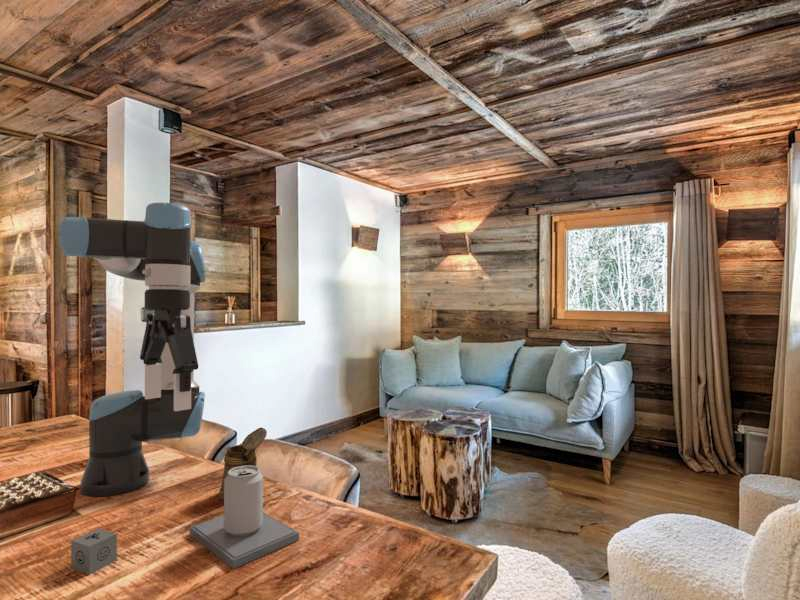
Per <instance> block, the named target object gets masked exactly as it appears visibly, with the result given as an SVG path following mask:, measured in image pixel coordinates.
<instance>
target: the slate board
mask: <svg viewBox="0 0 800 600" xmlns="http://www.w3.org/2000/svg"><path fill="white" fill-rule="evenodd" d="M189 535H190V536H192V538H194V539H195V540H196V541H197V542H199V543H200V544H201V545H202V546H204V547H205V548H206V549H207V550H209V551H210V552H211V553H212V554H214V555H215V556H216V557H217V558H219V559H220V560H222V561H223V562H224V563H225V564H226V565H228V566H229V567H231V569H233V570H235V569H237V568H239V567H241V566H243V565H246V564H248V563H251V562H253V561H255V560H257V559H259V558H262V557H265V556H267V555H268V554H270V553H273V552H276V551H278V550H280V549H282V548H284V547H287V546H289V545H291V544H293V543H295V542H298V541H300V532H299V531H297V530H295V529H293V528H292V527H290V526H289V525H286V524H285V523H283V522H282V521H280V520H279V519H276V518H275V517H273V516H271V515H269V513H266V512H264V511H263V524H262V525H261V527H259V528H258V530H257V531H255V532H254V533H252V534H249V535H246V536H233V535H230V534H229V533H228V532H226V531H225V529H224V514H223V515H220V516H217V517H214V518H212V519H209V520H206V521H202V522H200V523H197V524H194V525H192V526H189Z"/></svg>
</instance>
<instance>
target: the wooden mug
mask: <svg viewBox="0 0 800 600" xmlns="http://www.w3.org/2000/svg"><path fill="white" fill-rule="evenodd" d="M267 433H268V432H267V429H266V428H264V427H259V428H256V429H255V430H253V431H252V432H250V433H249V434H248V435H247V436H246V437H244V440H243V441H242V444H239V445H237V444H236V445H233V446H229V447H227V449H226V454H224V459H223V461H224V467H223V473H222V480H221V486H220V488H219V493H218V497H219V498H220V499H221V500H223V501H224V479H225V478H226V477H227V476H228V471H229V470H230V469H232V468H235V467H238V466H245V465H251V466H256V467H257V464H258V463H257V462H258V461H257V460H258V459H257V454H256V450H257V448H258V447H259V446H260V445H262V444H263V442H264V441H265V439H266V437H267Z"/></svg>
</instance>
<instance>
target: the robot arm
mask: <svg viewBox="0 0 800 600" xmlns="http://www.w3.org/2000/svg"><path fill="white" fill-rule="evenodd" d="M191 227H192V220H191V211H190V209H189V207H187V206H185V205H183V204H178V203H172V202H151V203H149V204H147V206H146V208H145V218H144V220H143V221H142V220H141V221H140V220H127V219H125V220H124V219H123V220H122V219H112V218H111V219H110V218H109V219H108V218H98V217H96V218H95V217H86V216H67V217H64V218H62V220H60V224H59V230H58V236H59V237H58V240H59V247H60V250H61V252H62V253H63V255H65V256H68V257H78V258H81V259H82V258H92V259H94V260H95V261H97V262H98V263H99V264H100V266H101V267H102V268H103V269H104V270H105V271H107V272H108V273H111V274H113V275H116V276H118V277H123V278H125V279H129V280H135V281H141V282H142V281H144V285H145V286H146V287H148V289H145V291H144V309H146V310H147V311H154V313H147V314H146V322H145V323H146V324H145V329H144V334H143V339H142V340H143V341H142V345H141V346H142V347H141V349H140V354H139V359H140V360H141V361H143V365H144V393H143V391H142V390H139V389H137V390H125V391H119V392H115V393H109V394H106V395H103V396H101V397H98V398H95V399H94V400H93V401H92V402H91V403H90V406H89V417H88V421H89V423H88V425H89V426H88V427H89V429H88V431H89V433H88V434H89V435H88V436H89V437H88V438H89V440H88V442H89V447H88V450H89V451H88V452H89V455H88V460H87V462H86V463H87V464H86V466H85V469H84V472H83V475H82V477H81V480H80V493H81V494H83V495H86V496H90V497H108V496H117V495H120V494H124V493H129V492H131V491H132V492H133V491H134V490H137V489H139V488H141V487H143V486H144V485H146V484H147V483H148V482H149V481H150V469H149V466H148V464H147V462H146V459H145V456H144V453H143V442H153V441H161V440H171V439H179V440H180V439H183V438H189V437H195V436H196V435H198V434H199V432H200V431H201V426H202V421H203V414H204V407H205V400H206V399H205V398H206V393H205V392H204V391H200V385H199V384H198V383H197V382H196V381H195V379H194V370H198V369H199V362H198V357H197V353H196V348H195V342H194V340H195V339H194V338H195V336H194V334H195V333H194V332H195V294H196V293H197V292H198V291H199V290H200V288H201V283H202V284H203V283H205V282H206V271H205V262H204V261H205V260H204V255H203V249H202V246H201V244H200V243H199V242H198V241H195V240H191V231H192V230H191V229H192V228H191Z"/></svg>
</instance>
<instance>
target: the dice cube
mask: <svg viewBox="0 0 800 600" xmlns="http://www.w3.org/2000/svg"><path fill="white" fill-rule="evenodd" d="M70 542H71V543H70V545H71V546H70V568H71V570H75V571H78V572H81V573H82V574H86V575H89V576H91V575H92V574H94V573H96V572H98V571H99V570H102V569H104V568H106V567H107V566H109V565H111V564H112V563H115V562H117V561H118V559H117V558H118V557H117V555H118V550H117V549H118V534H117V533H116V532H112V531H109V530H106V529H103V528H100V527H98V528H96V529H94V530H91V531H90V532H87V533H85V534H83V535H81V536H79V537H76V538H74V539H72V540H71V541H70Z"/></svg>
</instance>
